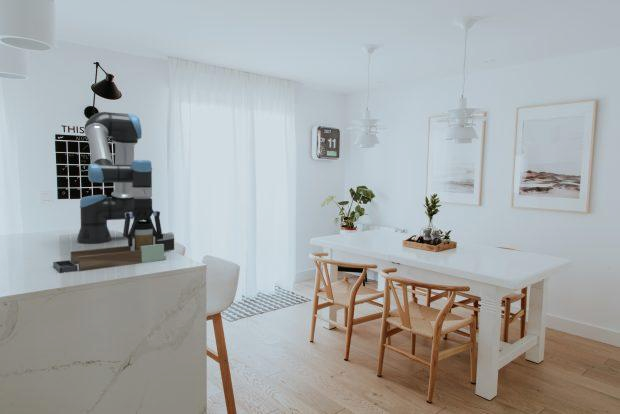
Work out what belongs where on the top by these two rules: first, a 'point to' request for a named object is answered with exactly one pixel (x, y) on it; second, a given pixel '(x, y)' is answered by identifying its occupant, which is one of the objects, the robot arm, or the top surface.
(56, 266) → the tray
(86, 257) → the channel
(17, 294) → the top surface
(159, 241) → the camera
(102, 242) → the robot arm
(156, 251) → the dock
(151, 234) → the coffee cup
